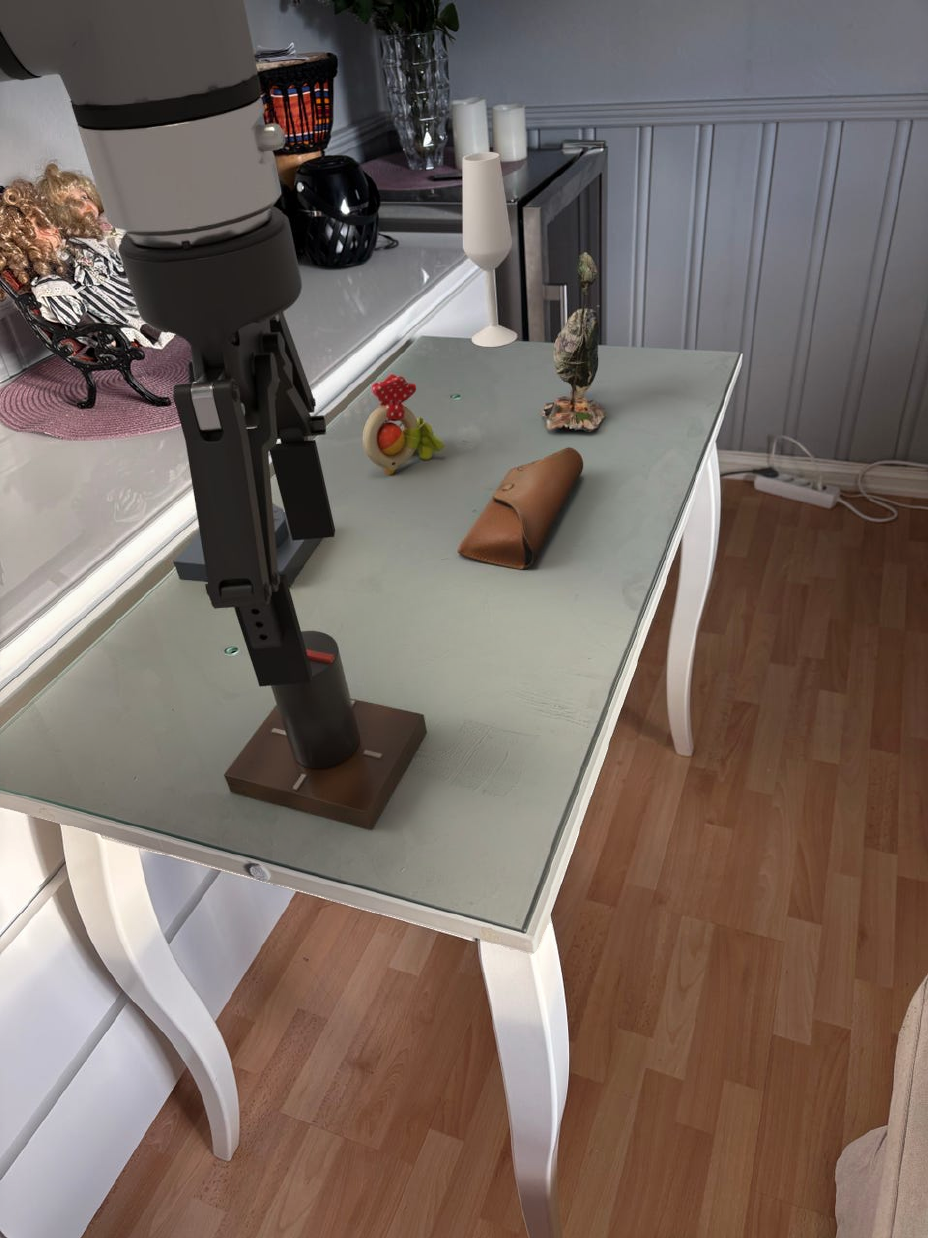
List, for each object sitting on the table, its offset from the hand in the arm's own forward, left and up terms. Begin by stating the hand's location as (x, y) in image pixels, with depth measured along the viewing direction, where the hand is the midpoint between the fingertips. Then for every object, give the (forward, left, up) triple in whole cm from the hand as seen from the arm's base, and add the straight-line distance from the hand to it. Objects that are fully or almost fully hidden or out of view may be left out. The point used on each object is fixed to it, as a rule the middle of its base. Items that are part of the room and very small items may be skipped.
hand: (301, 601), depth 53 cm
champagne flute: (+19, +85, -20) cm, 89 cm away
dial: (-2, +6, -18) cm, 19 cm away
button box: (-11, +36, -20) cm, 42 cm away
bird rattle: (+5, +51, -20) cm, 55 cm away
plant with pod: (+26, +58, -20) cm, 66 cm away
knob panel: (-2, +6, -20) cm, 21 cm away
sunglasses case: (+17, +37, -20) cm, 45 cm away
